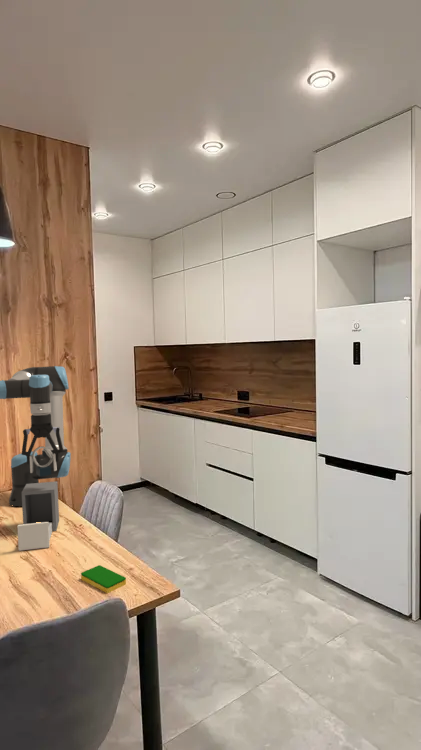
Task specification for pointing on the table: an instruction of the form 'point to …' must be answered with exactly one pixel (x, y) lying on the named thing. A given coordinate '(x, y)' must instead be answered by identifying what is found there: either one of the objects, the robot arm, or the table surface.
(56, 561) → the table surface
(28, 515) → the cabinet
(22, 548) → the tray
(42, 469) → the watch
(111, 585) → the dish sponge
